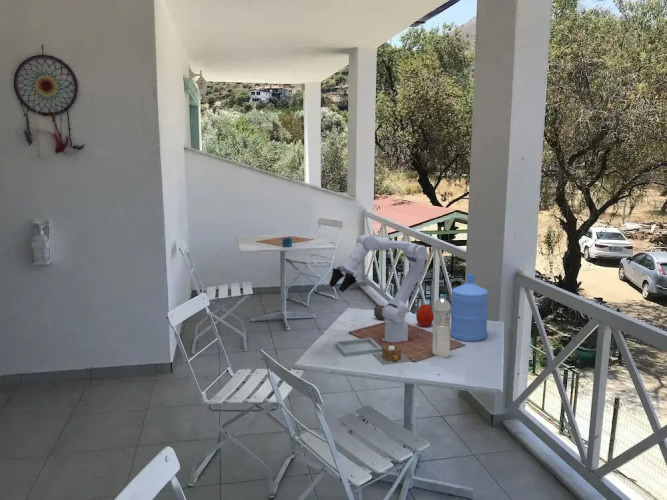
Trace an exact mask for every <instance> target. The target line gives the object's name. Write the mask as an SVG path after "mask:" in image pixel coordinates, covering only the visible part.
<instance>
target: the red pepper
mask: <svg viewBox="0 0 667 500" xmlns="http://www.w3.org/2000/svg"><path fill="white" fill-rule="evenodd" d="M433 314H434V310H432V307H431V306H430V305H429V304H426V303H424V304H421V305H420V306H419V307H418V309H417V311H416V316H415V317H416V322H417V324H418V325H419V326H420V327H424V328H427V327H431V325H433Z"/></svg>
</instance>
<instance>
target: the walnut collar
mask: <svg viewBox="0 0 667 500" xmlns="http://www.w3.org/2000/svg"><path fill="white" fill-rule="evenodd" d="M388 346H389V345H382V346H381V347H382V352H381V353H382V356H383V357H384V358H385V359H386V360H387V361H392V360H400V359H401V353H402V349H401V348H400V347H399V346H397V345H396V344H392V345H390V346H395V350H388Z"/></svg>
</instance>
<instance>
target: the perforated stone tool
mask: <svg viewBox="0 0 667 500" xmlns="http://www.w3.org/2000/svg"><path fill="white" fill-rule="evenodd" d="M384 306H385V305H381V304H380V305H379V304H378V305H376V306H375V307H374V308H373V315H374V318H376V319H378V320H382V321H385V318H384V317H383V315H382V310H383V308H384Z"/></svg>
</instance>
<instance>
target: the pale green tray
mask: <svg viewBox="0 0 667 500" xmlns="http://www.w3.org/2000/svg"><path fill="white" fill-rule="evenodd" d="M334 343H335V345H334V346H335V347H336V348H337V349H338V350H339V351H340V353H341V354H342V355H343V356H344V357H345V358H346V357H352V356H353V357H354V356H361V355H370V354H371V355H372V354H379V353H382V346H380V345H379V344H378V342H376V341H375V340H374V339H373V338H372V337H367V338H357V339H349V340H348V339H347V340H338V341H335V342H334ZM366 343H367V344H368V343H370V344H371V345H372V347H374V348H367V349H359V350H352V351H351V350H349V351H347V350H346V349H345V348H344V347H343V346H347V345H348V346H349V345H355V344H357V345H358V344H366Z"/></svg>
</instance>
